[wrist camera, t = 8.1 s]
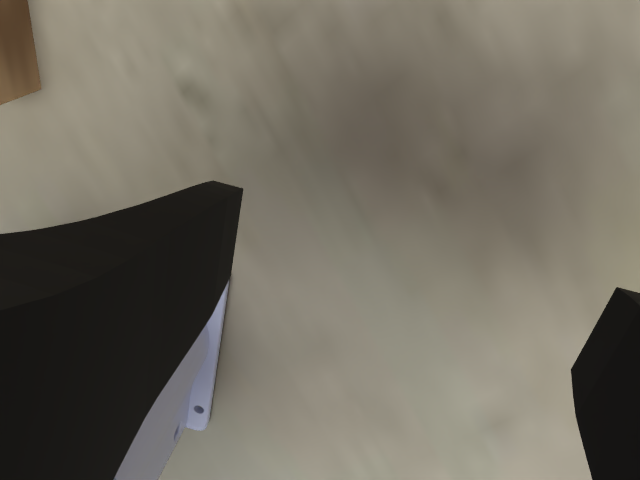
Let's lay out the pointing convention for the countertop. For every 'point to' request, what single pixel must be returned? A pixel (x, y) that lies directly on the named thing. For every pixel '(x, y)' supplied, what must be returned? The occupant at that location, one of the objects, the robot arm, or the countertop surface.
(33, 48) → the oak block
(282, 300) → the countertop surface
